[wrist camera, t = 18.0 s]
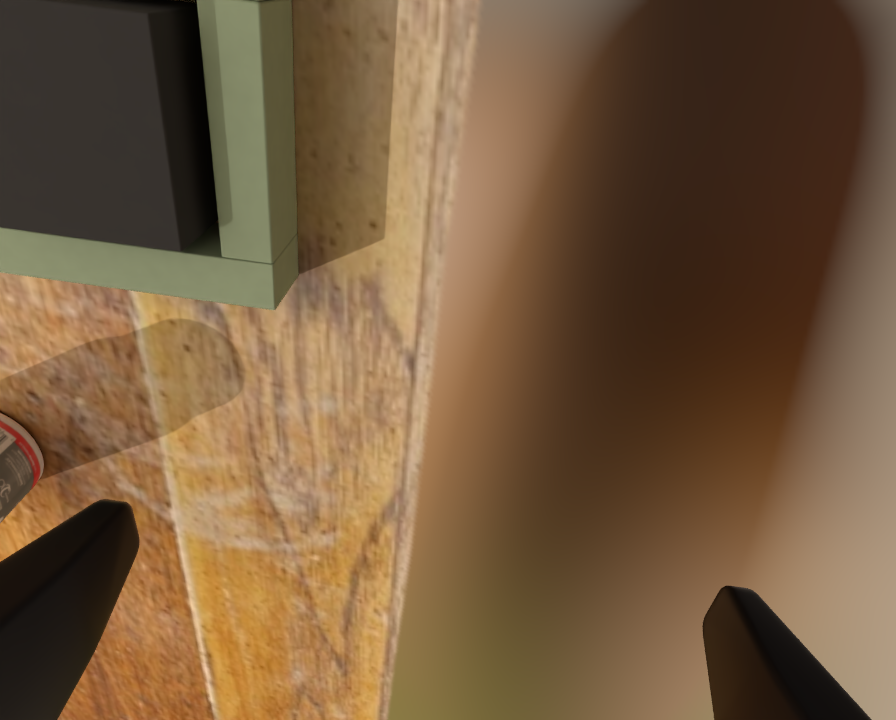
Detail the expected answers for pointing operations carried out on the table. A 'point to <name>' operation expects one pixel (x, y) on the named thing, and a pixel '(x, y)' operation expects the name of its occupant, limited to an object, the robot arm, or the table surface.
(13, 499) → the pill bottle
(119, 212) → the black block
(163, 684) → the table surface
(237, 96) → the green square frame
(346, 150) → the table surface
